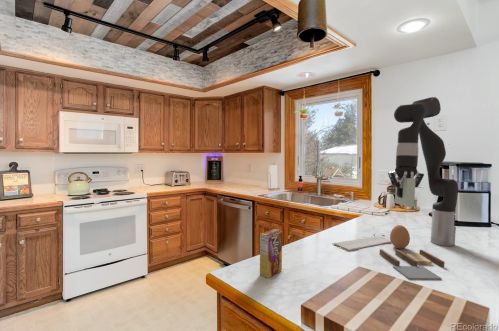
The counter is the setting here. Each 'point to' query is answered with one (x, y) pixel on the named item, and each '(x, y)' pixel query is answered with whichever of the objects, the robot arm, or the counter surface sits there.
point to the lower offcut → (424, 264)
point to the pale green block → (406, 193)
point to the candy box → (270, 253)
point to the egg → (400, 237)
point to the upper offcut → (420, 259)
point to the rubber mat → (417, 273)
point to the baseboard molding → (362, 243)
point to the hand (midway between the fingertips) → (404, 197)
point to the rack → (409, 259)
